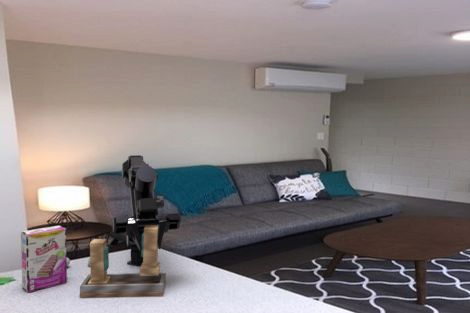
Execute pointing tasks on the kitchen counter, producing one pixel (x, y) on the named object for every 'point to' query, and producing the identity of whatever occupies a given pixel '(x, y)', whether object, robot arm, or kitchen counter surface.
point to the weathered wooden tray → (116, 278)
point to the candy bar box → (43, 258)
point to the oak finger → (150, 251)
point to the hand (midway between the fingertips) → (150, 249)
